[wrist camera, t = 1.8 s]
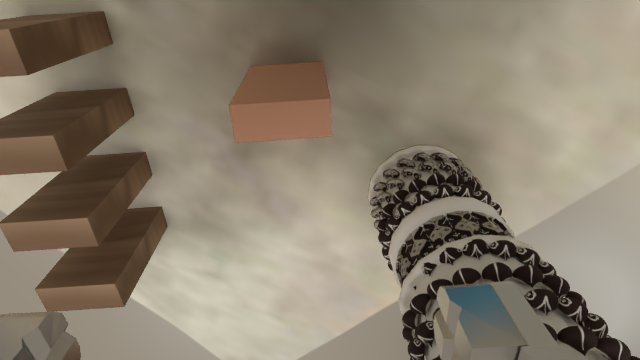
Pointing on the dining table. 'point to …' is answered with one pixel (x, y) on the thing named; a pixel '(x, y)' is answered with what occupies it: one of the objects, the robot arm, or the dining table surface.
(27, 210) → the domino
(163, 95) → the dining table surface
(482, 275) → the decorative candle
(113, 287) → the domino
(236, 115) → the domino
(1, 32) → the domino
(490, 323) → the robot arm
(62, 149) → the domino
